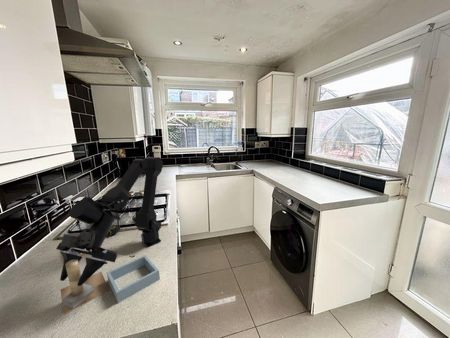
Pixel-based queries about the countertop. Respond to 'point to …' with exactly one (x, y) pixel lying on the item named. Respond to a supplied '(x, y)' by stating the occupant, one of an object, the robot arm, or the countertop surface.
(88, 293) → the rubber stamp
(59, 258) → the countertop surface
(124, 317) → the countertop surface
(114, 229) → the tape measure
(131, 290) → the box
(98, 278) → the far plate
